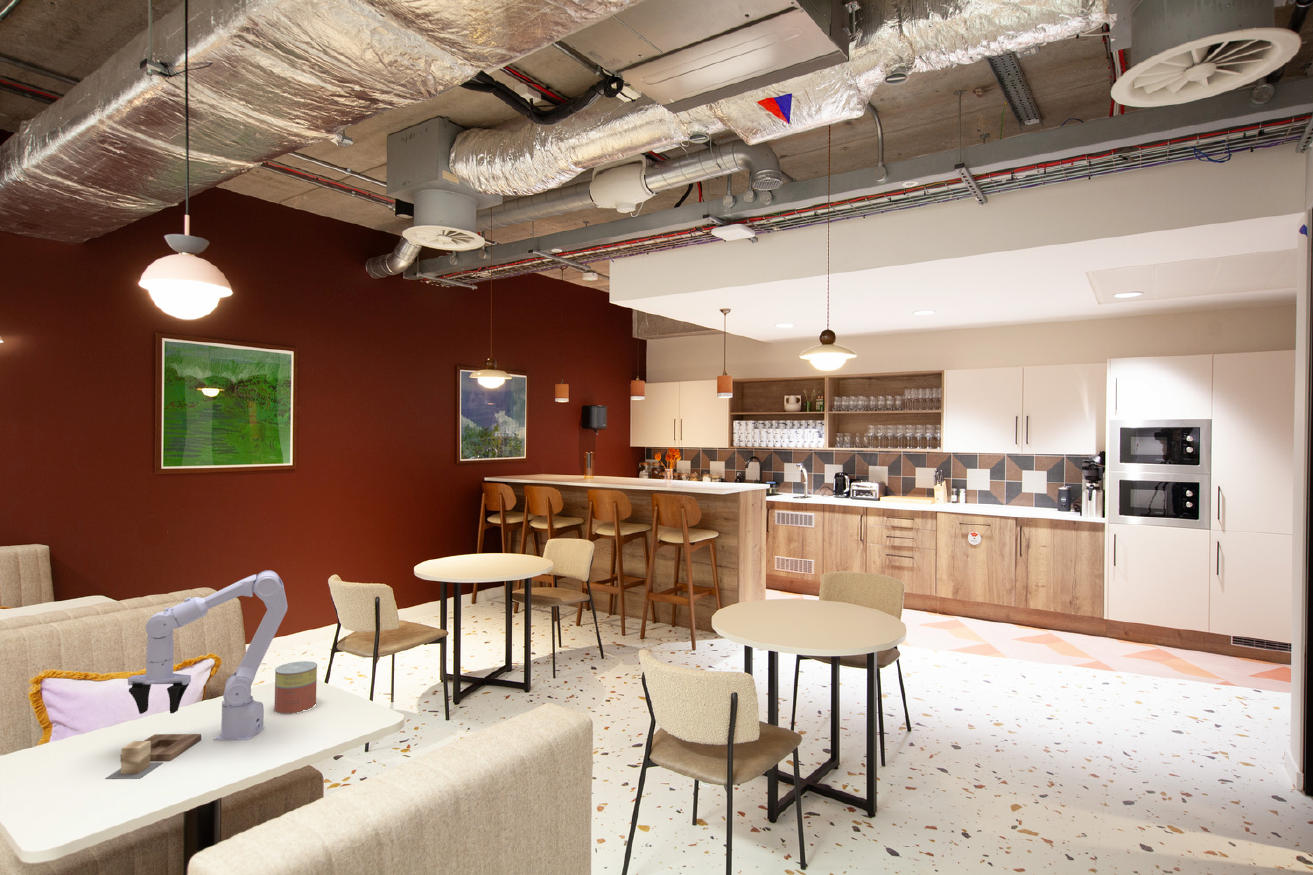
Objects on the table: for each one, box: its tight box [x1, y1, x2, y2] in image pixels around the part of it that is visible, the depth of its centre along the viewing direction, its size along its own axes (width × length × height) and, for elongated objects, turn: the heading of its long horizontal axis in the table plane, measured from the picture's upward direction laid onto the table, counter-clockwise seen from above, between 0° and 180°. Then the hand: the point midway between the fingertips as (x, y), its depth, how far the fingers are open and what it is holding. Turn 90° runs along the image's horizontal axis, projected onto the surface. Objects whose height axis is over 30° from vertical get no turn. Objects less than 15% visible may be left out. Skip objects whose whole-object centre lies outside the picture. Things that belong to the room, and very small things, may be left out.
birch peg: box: [120, 740, 151, 774], centre depth 162 cm, size 4×4×6 cm
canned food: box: [273, 660, 318, 715], centre depth 203 cm, size 11×11×12 cm
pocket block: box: [143, 733, 202, 762], centre depth 172 cm, size 12×12×2 cm
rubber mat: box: [104, 761, 165, 780], centre depth 161 cm, size 8×8×1 cm
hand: (158, 712), depth 174 cm, fingers open, 7 cm apart
